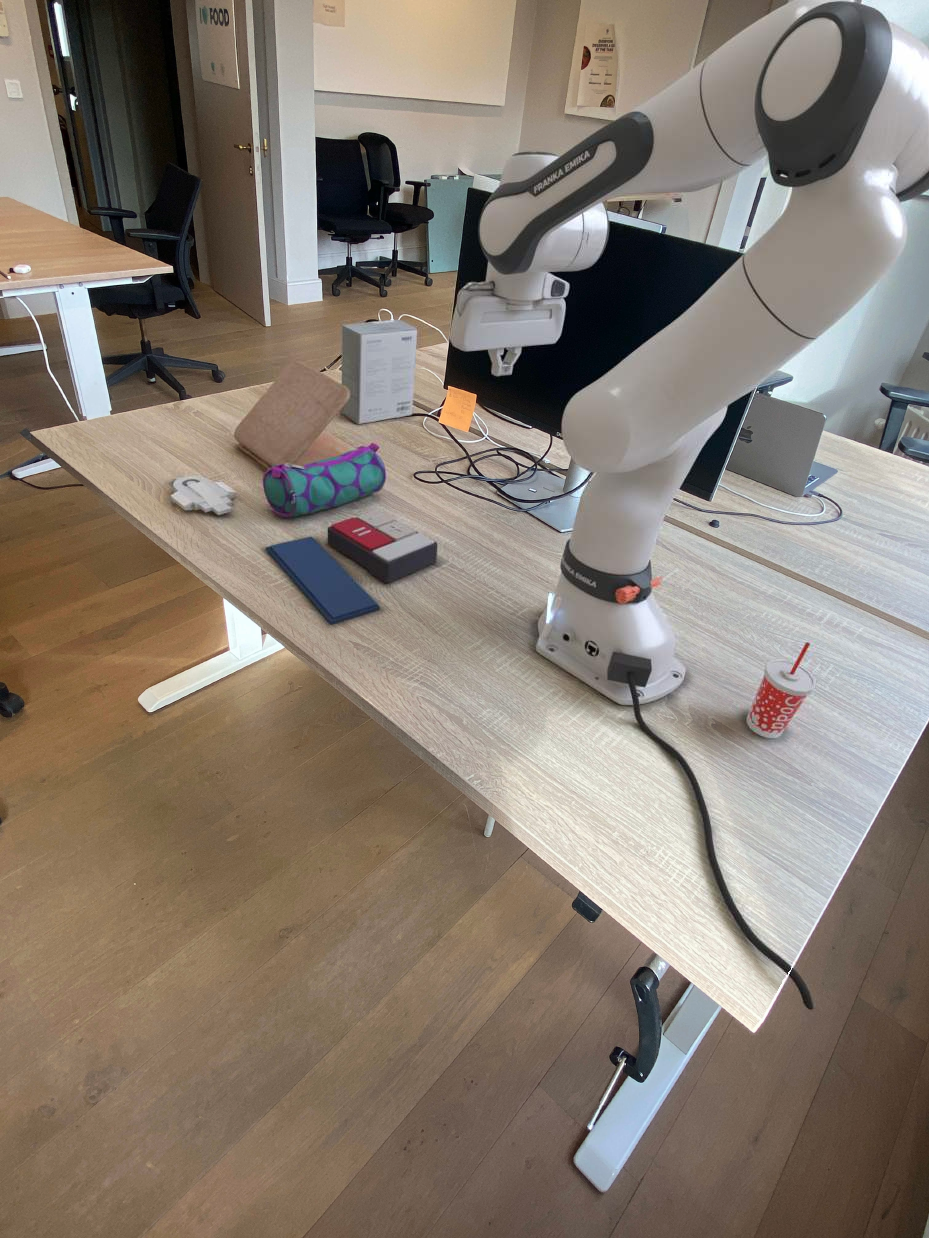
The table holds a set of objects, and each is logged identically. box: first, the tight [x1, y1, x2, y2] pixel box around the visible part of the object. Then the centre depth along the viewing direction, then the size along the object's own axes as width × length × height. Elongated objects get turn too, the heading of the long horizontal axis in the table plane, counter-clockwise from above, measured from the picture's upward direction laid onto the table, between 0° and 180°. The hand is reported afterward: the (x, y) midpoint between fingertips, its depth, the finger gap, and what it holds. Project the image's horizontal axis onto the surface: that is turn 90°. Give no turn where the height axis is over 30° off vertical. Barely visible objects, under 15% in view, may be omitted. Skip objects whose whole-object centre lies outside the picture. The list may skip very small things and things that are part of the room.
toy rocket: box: [170, 475, 237, 516], centre depth 121 cm, size 16×10×2 cm, turn 47°
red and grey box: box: [327, 509, 438, 584], centre depth 113 cm, size 11×4×15 cm
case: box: [233, 361, 358, 470], centre depth 135 cm, size 20×21×16 cm
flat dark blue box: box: [265, 536, 381, 625], centre depth 106 cm, size 22×8×1 cm, turn 36°
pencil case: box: [262, 442, 387, 518], centre depth 123 cm, size 21×9×10 cm, turn 135°
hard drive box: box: [341, 319, 419, 425], centre depth 157 cm, size 16×8×20 cm, turn 130°
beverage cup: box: [746, 641, 817, 739], centre depth 88 cm, size 6×6×14 cm
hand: (501, 374), depth 111 cm, fingers closed
